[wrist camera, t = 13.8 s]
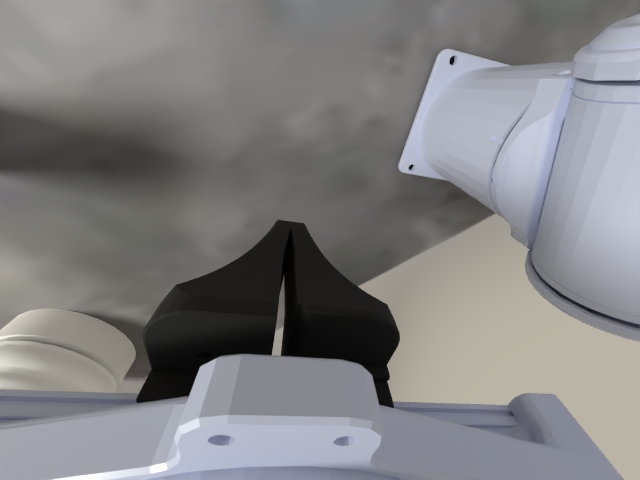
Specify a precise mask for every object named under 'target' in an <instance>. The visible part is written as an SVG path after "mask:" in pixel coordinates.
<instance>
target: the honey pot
mask: <svg viewBox="0 0 640 480" xmlns="http://www.w3.org/2000/svg"><path fill="white" fill-rule="evenodd" d="M135 357H136V351H135V348H134V346H133V343H132V342H131V341H130V340H129V339H128V338H127V336H126V335H125V334H123V333H122V332H121V331H119V330H118V329H116V328H115V327H114V326H112V325H110V324H108V323H106V322H104V321H102V320H100V319H97V318H94V317H91V316H89V315H86V314H83V313H78V312H73V311H68V310H61V309H39V310H31V311H28V312H25V313H23V314H20V315H18V316H17V317H16V318H15V319H13V320H12V321H11V322H10V323H8V324H7V325H6V326H5V327H4V328H2V329H1V330H0V389H6V390H37V391H69V392H101V393H115V392H116V389H117V388H118V386H119V385H120V383H121V382H122V380H123V379H124V377H125V375H126V374H127V372H128V370H129V369H130V367H131V365H132V364H133V362H134V360H135Z"/></svg>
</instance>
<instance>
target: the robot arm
mask: <svg viewBox="0 0 640 480" xmlns="http://www.w3.org/2000/svg"><path fill="white" fill-rule="evenodd" d="M452 56H453V57H454V59H455V60H454V63H453V64H452V65H450V63H449V61H450V58H451V57H452ZM412 164H413V168H412V169H410V170H409V169H408V168H409V166H410V165H412ZM398 168H399V170H400V171H401V172H403V173H408V174H413V175H419V176H424V177H430V178H435V179H441V180H447V181H450V182H451V183H453V184H454V185H456V186H457V187H459V188H460V189H462V190H463V191H464V192H466V193H467V194H469V195H470V196H472V197H473V198H475V199H476V200H478V201H479V202H481V203H482V204H484V205H485V206H487V207H488V208H490V209H491V210H492V211H494V212H495V213H497V214H498V215H500V216H502V217H503V218H504V219H506V221H507V222H509V224H510V226H511V236H512V237H513V238H515V239H516V240H517V241H519V242H520V243H522V244H523V245H524V246H526V247H527V248H528V249H530V250H529V251H528V254H527V258H526V262H525V268H526V274H527V276H528V279H529V281H530V282H531V284H532V285H533V287H534V288H535V289H536V290H537V291H538V292H539V294H540V295H541V296H542V297H544V298H545V299H546V300H547V301H549V302H550V303H551V304H552V305H554V306H555V307H557V308H558V309H560V310H561V311H563V312H565V313H566V314H568V315H570V316H572V317H574V318H576V319H578V320H580V321H581V322H583V323H586V324H588V325H590V326H593V327H595V328H598V329H600V330H603V331H605V332H608V333H611V334H614V335H618V336H621V337H624V338H627V339H631V340H635V341H640V14H637V15H634V16H631V17H628V18H626V19H623V20H621V21H618V22H616V23H614V24H612V25H610V26H609V27H607V28H606V29H605V30H604V31H603V32H602V33H600V34H599V35H598V36H597V37H596V38H595V39H594V40H593V41H592V42H591V43H590V44H588V45H586V46H584V47H583V48H581V49H580V50H579V51H578V52H576V54H575V56H574V59H573V61H569V62H556V63H544V64H531V65H518V66H511V65H508V64H504V63H500V62H496V61H493V60H489V59H485V58H482V57H478V56H474V55H471V54H467V53H463V52H460V51H456V50H452V49H444V50H442V51H441V52H440V53H439V54H438V56H437V58H436V61H435V64H434V67H433V69H432V72H431V75H430V78H429V81H428V83H427V86H426V89H425V92H424V95H423V97H422V100H421V103H420V106H419V109H418V111H417V114H416V117H415V120H414V123H413V125H412V128H411V131H410V134H409V137H408V139H407V142H406V145H405V148H404V150H403V153H402V156H401V159H400V162H399V165H398ZM283 277H284V290H285V317H284V330H283V340H282V351H281V356H272V348H273V342H274V335H275V328H276V321H277V313H278V304H279V294H280V290H281V286H282V281H283ZM143 341H144V345H145V348H146V351H147V355H148V358H149V361H150V364H151V368H152V370H151V372H150V374H149V376H148V378H147V380H146V381H145V383H144V385H143V387H142V389H141V391H140V393H139V394H132V393H101V392H69V391H37V390H6V389H0V480H624V479H623V478H622V476H621V475H620V474H619V473H618V472H617V470H616V469H615V468H614V467H613V465H612V464H611V463H610V462H609V460H608V459H607V458H606V457H605V455H604V454H603V453H602V452H601V450H600V449H599V448H598V447H597V446H596V444H595V443H594V442H593V441H592V439H591V438H590V437H589V436H588V434H587V433H586V432H585V431H584V429H583V428H582V427H581V426H580V425H579V423H578V422H577V421H576V419H575V418H574V417H573V416H572V415H571V413H570V412H569V411H568V410H567V408H566V407H565V406H564V405H563V403H562V402H561V401H560V400H559V399H558V397H557V396H556V395H553V394H536V393H528V394H527V393H526V394H522V395H519V396H517V397H515V398H514V399H513V400H512V401H511V402H510V403H509V405H480V404H449V403H417V402H393V401H392V397H391V393H390V390H389V386H388V383H387V381H388V380H389V378H390V376H389V371H388V368H387V364H388V362H389V360H390V358H391V357H392V355H393V353H394V352H395V350H396V348H397V346H398V343H399V341H400V335H399V331H398V328H397V326H396V323H395V320H394V318H393V316H392V314H391V312H390V310H389V308H388V305H387V304H385V303H383V302H382V301H380V300H378V299H376V298H375V297H373V296H371V295H369V294H368V293H366V292H365V291H363V290H361V289H360V288H359V287H357V286H356V285H354V284H353V283H352V282H350V281H349V280H348V279H347V278H346V277H344V276H343V275H342V274H341V273H340V272H339V271H338V270H336V269H335V268H334V267H333V265H332V264H331V263H330V262H329V261H328V260H327V259H326V258H325V257H324V255H323V254H322V253H321V251H320V250H319V248H318V247H317V245H316V244H315V242H314V241H313V239H312V237H311V236H310V234H309V232H308V230H307V228H306V226H305V224H304V223H297V222H290V221H283V220H278V221H276V222H275V224H274V226H273V227H272V228H271V230H270V231H269V232H268V233H267V234H266V235H265V236H264V237H263V239H262V240H261V241H259V242H258V243H257V244H256V245H255V246H254V247H253V248H252V249H250V250H249V251H248V252H247V253H245V254H244V255H243V256H241V257H240V258H238V259H237V260H235V261H233V262H231V263H230V264H228V265H226V266H224V267H222V268H220V269H218V270H216V271H214V272H211V273H209V274H207V275H204V276H202V277H199V278H196V279H193V280H190V281H187V282H184V283H181V284H177V285H175V287H174V288H173V289H172V290H171V291H170V293H169V294H168V295H167V296H166V297H165V298H164V300H163V301H162V302H161V304H160V305H159V306H158V308H157V310H156V311H155V313H154V314H153V316H152V317H151V319H150V320H149V322H148V324H147V325H146V327H145V330H144V332H143Z"/></svg>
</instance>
